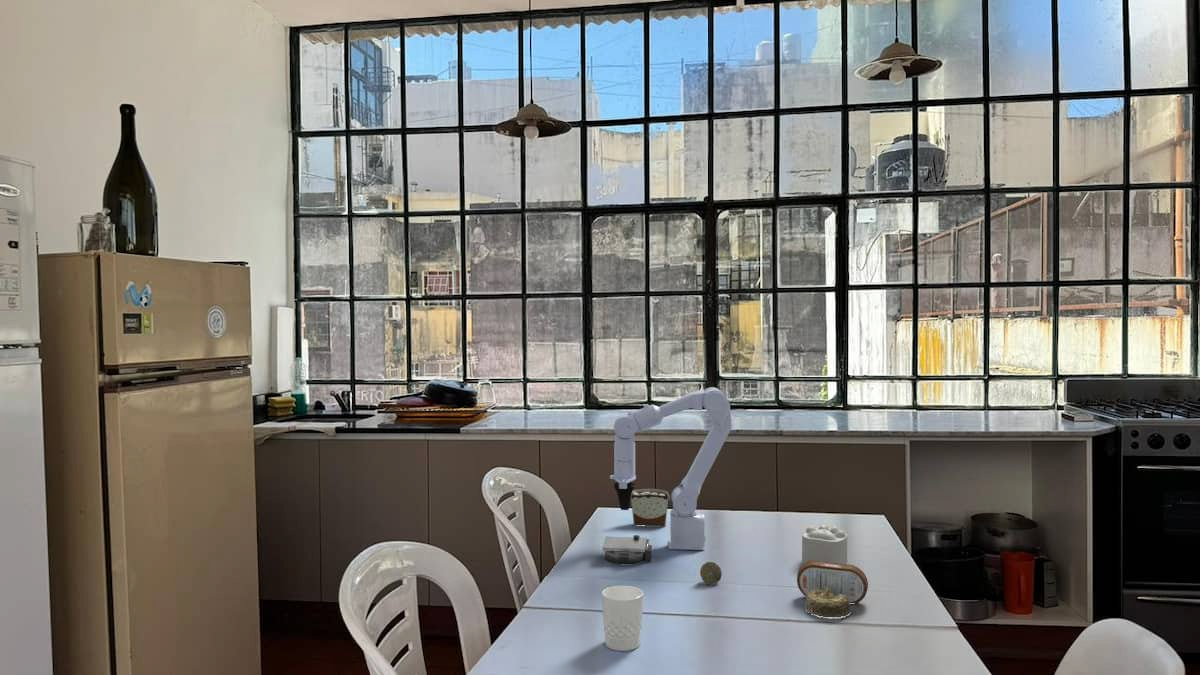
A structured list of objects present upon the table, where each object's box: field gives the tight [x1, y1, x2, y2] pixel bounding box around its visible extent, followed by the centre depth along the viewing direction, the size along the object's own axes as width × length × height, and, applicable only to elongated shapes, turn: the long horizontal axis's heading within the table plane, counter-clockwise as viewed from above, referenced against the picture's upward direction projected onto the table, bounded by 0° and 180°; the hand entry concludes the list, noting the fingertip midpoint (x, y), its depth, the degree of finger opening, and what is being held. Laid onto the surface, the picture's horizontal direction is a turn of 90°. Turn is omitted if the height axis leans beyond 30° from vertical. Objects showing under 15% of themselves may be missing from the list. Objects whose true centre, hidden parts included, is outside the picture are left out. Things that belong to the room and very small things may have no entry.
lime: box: [699, 561, 723, 586], centre depth 185 cm, size 4×5×5 cm
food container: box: [630, 488, 671, 527], centre depth 237 cm, size 12×6×10 cm, turn 84°
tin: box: [796, 561, 869, 604], centre depth 173 cm, size 15×3×8 cm, turn 70°
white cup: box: [601, 585, 644, 652], centre depth 151 cm, size 8×8×10 cm
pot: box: [604, 544, 653, 565], centre depth 204 cm, size 12×17×3 cm
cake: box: [804, 587, 852, 617], centre depth 168 cm, size 10×10×5 cm
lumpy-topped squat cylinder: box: [801, 524, 848, 565], centre depth 201 cm, size 10×13×9 cm
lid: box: [602, 534, 650, 552], centre depth 204 cm, size 12×10×2 cm
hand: (624, 509), depth 215 cm, fingers closed
